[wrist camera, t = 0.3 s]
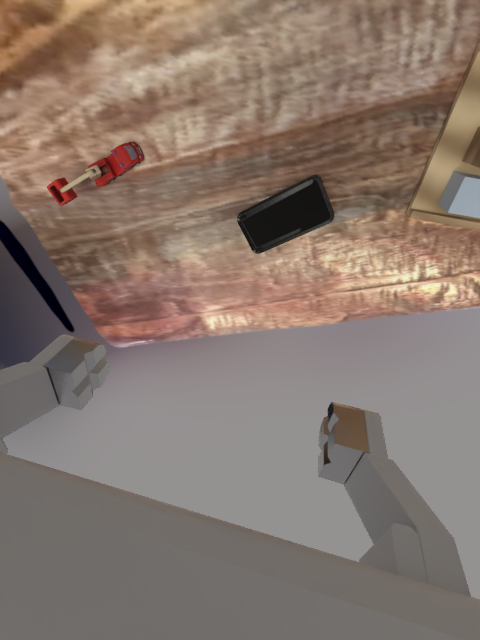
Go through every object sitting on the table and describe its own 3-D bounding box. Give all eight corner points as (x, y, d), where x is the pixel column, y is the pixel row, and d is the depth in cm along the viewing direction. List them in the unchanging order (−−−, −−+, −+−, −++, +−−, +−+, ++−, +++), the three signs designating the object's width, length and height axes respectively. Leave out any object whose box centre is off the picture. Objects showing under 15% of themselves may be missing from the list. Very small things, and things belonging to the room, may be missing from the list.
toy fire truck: (147, 158, 53) (117, 168, 45) (93, 194, 59) (57, 207, 51) (136, 138, 51) (102, 144, 44) (81, 176, 57) (42, 187, 49)
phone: (234, 216, 54) (318, 173, 48) (236, 214, 55) (318, 172, 49) (255, 256, 57) (336, 220, 51) (256, 253, 58) (336, 218, 52)
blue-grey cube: (453, 171, 43) (465, 176, 40) (487, 176, 43) (503, 182, 39) (437, 204, 46) (447, 212, 42) (470, 210, 45) (482, 218, 42)
